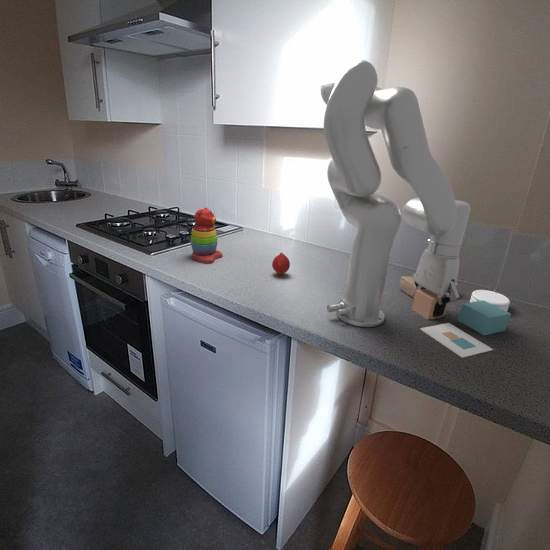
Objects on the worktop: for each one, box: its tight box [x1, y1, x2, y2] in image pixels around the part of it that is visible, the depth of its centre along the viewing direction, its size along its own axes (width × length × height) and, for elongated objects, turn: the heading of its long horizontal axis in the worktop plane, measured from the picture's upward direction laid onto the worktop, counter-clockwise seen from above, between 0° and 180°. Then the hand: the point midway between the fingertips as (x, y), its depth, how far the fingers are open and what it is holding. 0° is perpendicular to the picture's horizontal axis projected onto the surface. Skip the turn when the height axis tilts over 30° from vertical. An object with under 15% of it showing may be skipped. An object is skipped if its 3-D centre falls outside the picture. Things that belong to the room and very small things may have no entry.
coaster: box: [469, 289, 511, 312], centre depth 107 cm, size 10×10×4 cm
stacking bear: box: [190, 207, 224, 265], centre depth 127 cm, size 11×10×18 cm
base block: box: [457, 300, 512, 336], centre depth 95 cm, size 8×8×5 cm
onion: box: [271, 251, 291, 276], centre depth 118 cm, size 6×6×8 cm
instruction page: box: [419, 322, 494, 359], centre depth 88 cm, size 10×13×1 cm
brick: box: [399, 275, 459, 299], centre depth 114 cm, size 17×8×5 cm, turn 108°
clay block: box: [411, 289, 448, 320], centre depth 99 cm, size 6×6×6 cm
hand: (428, 309), depth 100 cm, fingers closed on clay block, 6 cm apart
